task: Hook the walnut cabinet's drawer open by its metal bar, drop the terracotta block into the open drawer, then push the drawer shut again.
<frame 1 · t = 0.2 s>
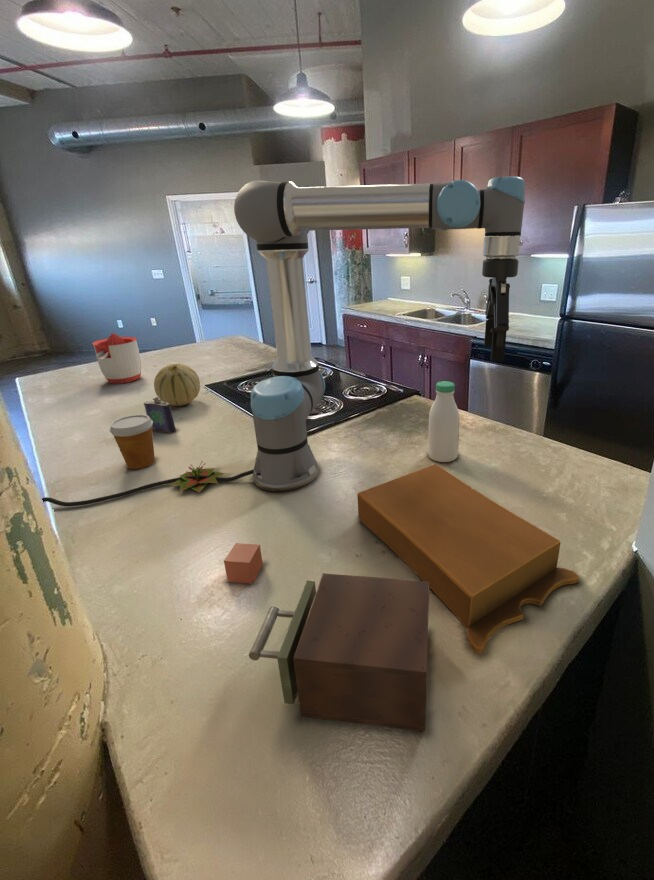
hand: (493, 353, 98), 28 cm above the table, tool pointing down, fingers open, 13 cm apart
cabinet: (370, 671, 55), on the table
disposable coffee cup: (141, 463, 108), on the table
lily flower: (199, 482, 99), on the table
flask: (163, 430, 128), on the table
cantaloupe: (181, 404, 148), on the table
citrus juicer: (123, 381, 175), on the table
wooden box: (454, 549, 76), on the table
drawer: (328, 640, 54), point 5 cm above the table, slide at 1.0 cm
milk bottle: (442, 456, 109), on the table
block: (245, 573, 71), on the table
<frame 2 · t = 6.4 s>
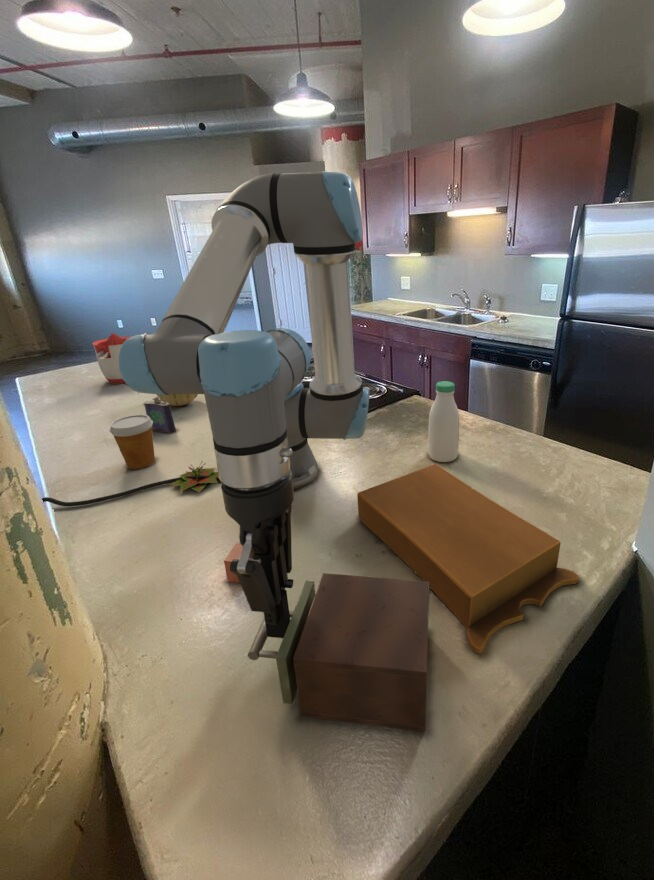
hand: (279, 632, 54), 6 cm above the table, tool pointing down, fingers closed
drawer: (327, 640, 54), point 5 cm above the table, slide at 1.2 cm, touching gripper
everything else where it was.
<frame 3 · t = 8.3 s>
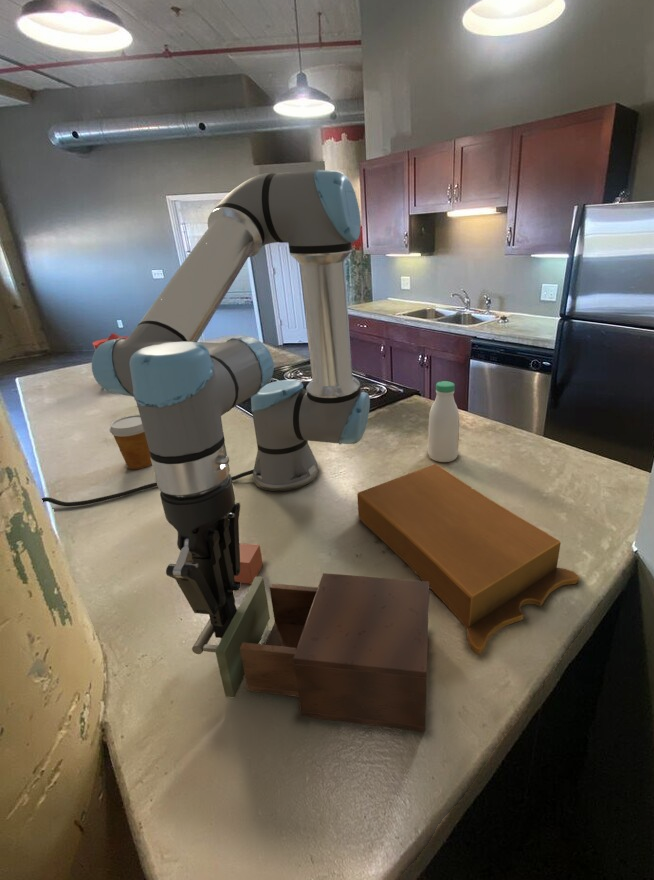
hand: (228, 633, 55), 4 cm above the table, tool pointing down, fingers closed
drawer: (273, 635, 54), point 5 cm above the table, slide at 8.5 cm
everything else where it was.
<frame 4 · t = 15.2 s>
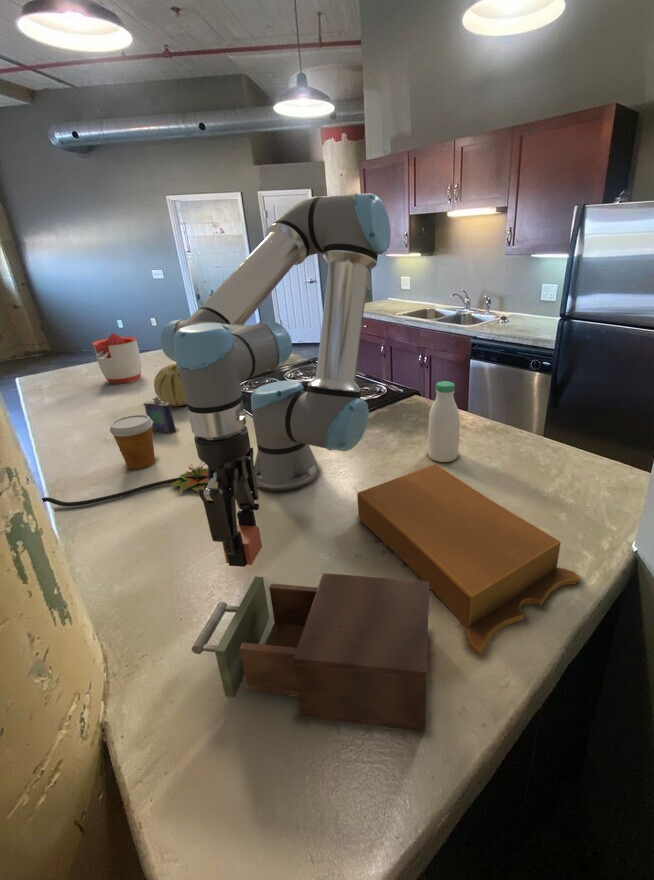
hand: (244, 553, 70), 4 cm above the table, tool pointing down, fingers closed on block, 4 cm apart
block: (244, 554, 71), point 4 cm above the table, touching gripper
everything else where it was.
when the fingers open (11 cm above the table, at t = 19.1 s): block drops 8 cm, resting on drawer.
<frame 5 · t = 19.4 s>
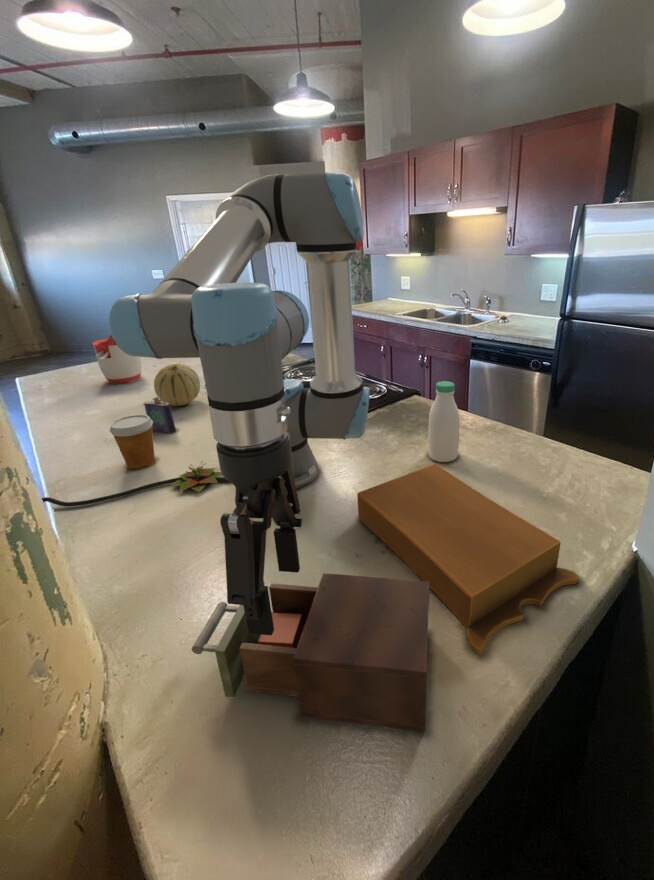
hand: (276, 598, 52), 11 cm above the table, tool pointing down, fingers open, 9 cm apart
drawer: (272, 635, 54), point 5 cm above the table, slide at 8.5 cm, touching block
block: (284, 651, 55), point 2 cm above the table, touching drawer
everything else where it was.
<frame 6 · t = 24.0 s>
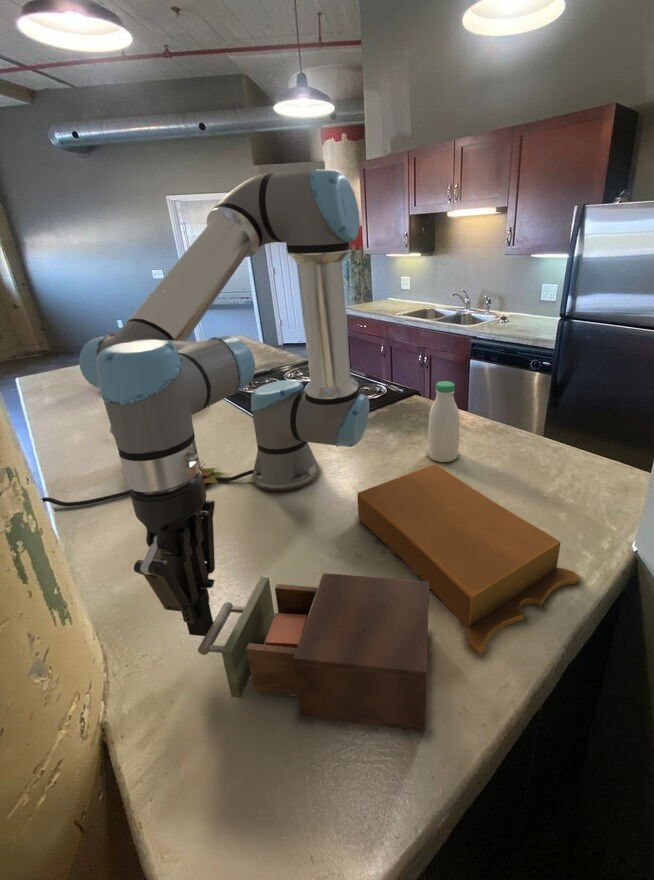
hand: (201, 630, 56), 5 cm above the table, tool pointing down, fingers closed
drawer: (278, 635, 54), point 5 cm above the table, slide at 7.7 cm, touching block, gripper
everything else where it was.
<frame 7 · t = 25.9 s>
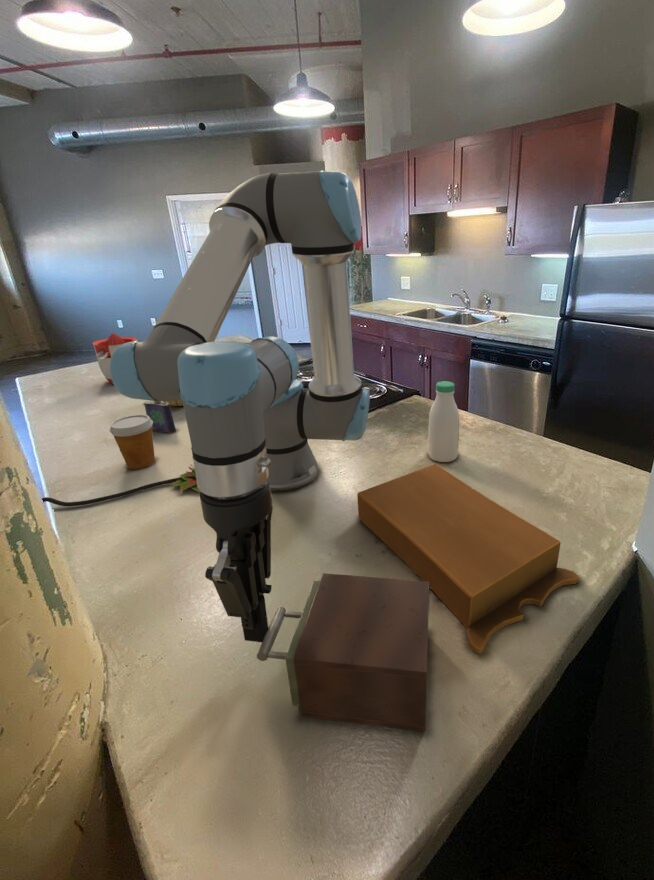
hand: (256, 636, 55), 4 cm above the table, tool pointing down, fingers closed
drawer: (336, 641, 53), point 5 cm above the table, slide at 0.0 cm, touching block, cabinet, gripper
block: (347, 658, 54), point 2 cm above the table, touching drawer
everything else where it was.
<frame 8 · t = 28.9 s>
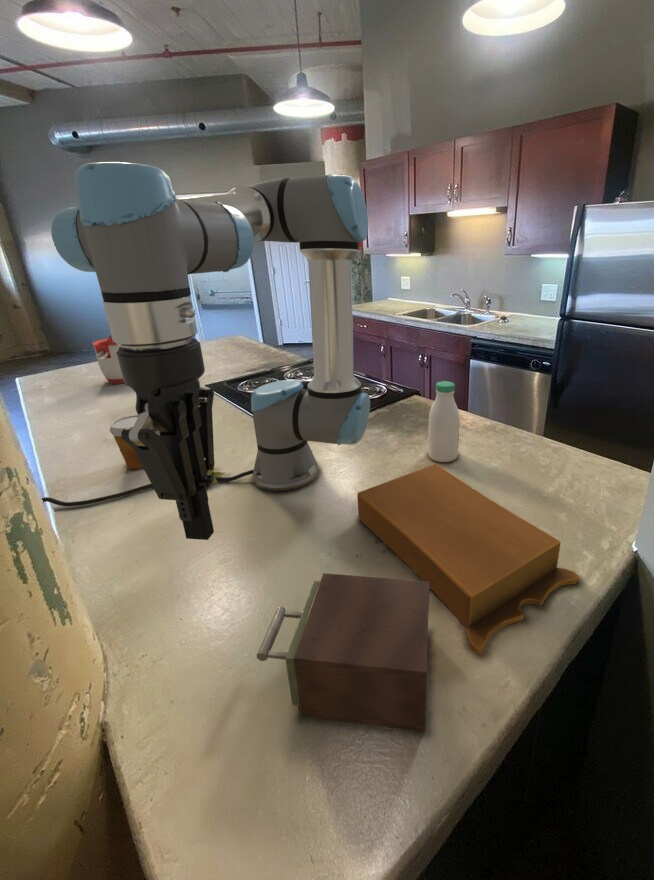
hand: (200, 535, 50), 20 cm above the table, tool pointing down, fingers closed
drawer: (336, 641, 53), point 5 cm above the table, slide at 0.0 cm, touching block, cabinet
everything else where it was.
at the end: drawer pulled out 8.5 cm at the most during the clip, back to where it started at the end; block inside the target area in the cabinet (2.9 cm from its centre), point 2.1 cm above the cabinet's base; drawer slide at 0.0 cm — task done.
